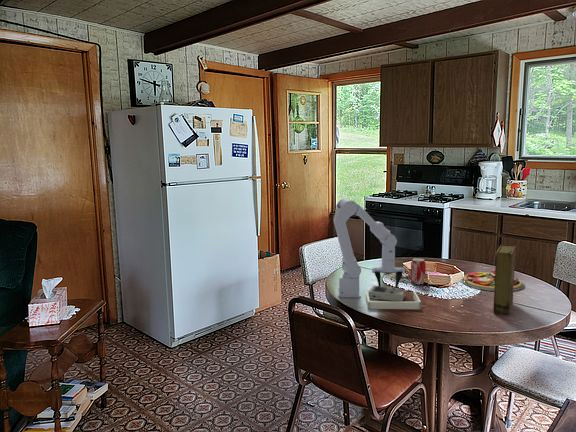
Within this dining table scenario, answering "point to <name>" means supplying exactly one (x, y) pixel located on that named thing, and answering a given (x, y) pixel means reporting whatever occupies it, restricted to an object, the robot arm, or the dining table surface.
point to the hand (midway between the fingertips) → (388, 287)
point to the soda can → (418, 270)
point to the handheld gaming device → (386, 293)
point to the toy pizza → (486, 281)
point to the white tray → (393, 303)
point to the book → (504, 279)
